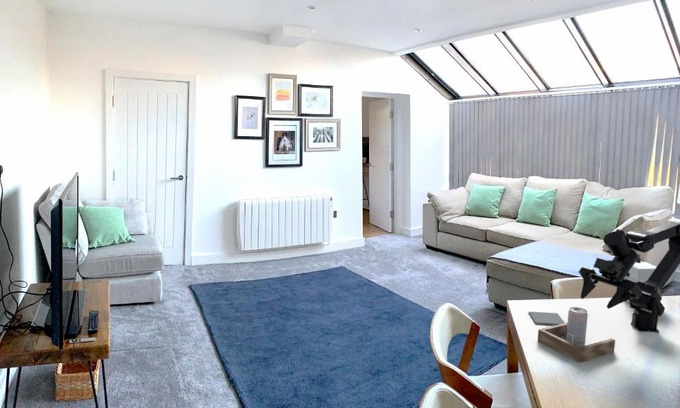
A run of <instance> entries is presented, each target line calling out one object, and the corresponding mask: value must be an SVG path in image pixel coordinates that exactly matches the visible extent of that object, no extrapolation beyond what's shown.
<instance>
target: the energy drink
mask: <svg viewBox="0 0 680 408" xmlns="http://www.w3.org/2000/svg"><path fill="white" fill-rule="evenodd" d="M567 311H568V312H567V314H568V315H567V322H568V323H567V322H566V323H567V335H566V336H565V337H566V338H565V340H566V341H568V342H570V343H572V344H574V345H576V346H578V347H582V346H585V345H586V337H587V327H588V325H587V324H588V310H587V309H585V308H583V307H578V306H573V307H570V308H569V310H567Z"/></svg>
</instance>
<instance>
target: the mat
mask: <svg viewBox="0 0 680 408" xmlns="http://www.w3.org/2000/svg"><path fill="white" fill-rule="evenodd" d="M528 314H529V316H530V315H531V316H530V318H531V317H532V318H531V319H532V321H533V320H534V321H533V322H535V323H534V324H535V325H541V324H543V325H544V326H545V325H546V326H555V325H559V324H563V323H566V322H565V321H564V320H563V318H562V317H561V316H560V314H559V313H558V312H547V311H546V312H544V311H528Z"/></svg>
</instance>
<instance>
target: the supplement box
mask: <svg viewBox="0 0 680 408" xmlns="http://www.w3.org/2000/svg"><path fill="white" fill-rule="evenodd" d="M656 267H657V266H656V265H653V264H651V263H649V262H646V261H643V262H642V261H641V263H636V262H635V264H634V265H633V267H632V268H631V269H630V271H629V273H630V276H629V277H627V276H626V277H625V278H624V279H627V280H630V281H633V282H636V283H637V282H638V281H640V282H646V281H647V280H648V278H649V277H650V275H651V274H652V273H653V271H654V270H655V268H656ZM626 302H627V303H629V304H630V302H629V300H627V301H626Z"/></svg>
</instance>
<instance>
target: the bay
mask: <svg viewBox="0 0 680 408" xmlns="http://www.w3.org/2000/svg"><path fill="white" fill-rule="evenodd" d="M567 323H568V321H567V322H565V323H563V324H559V325H549V326H546V327H543V328H538V330H537V331H538V333H537V342H538V343H541V344H543V345H544V346H546V347H548V348H550V349H552V350H553V351H556V352H558V353H560V354H562V355H564V356H565V357H568V358H569V359H571V360H574V362H577V363H581V362H586V361H589V360H592V359H596V358H599V357H603V356H607V355H610V354H612V353H615V346H616V339H614V338H609V339H608V338H607V339H604V340H601V341H597V342H594V343H589V344H585V346H582V347H578V346H576V345H574V344H572V343H570V342H568V341H566V339H563V338H564V337H566V335H567Z"/></svg>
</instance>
